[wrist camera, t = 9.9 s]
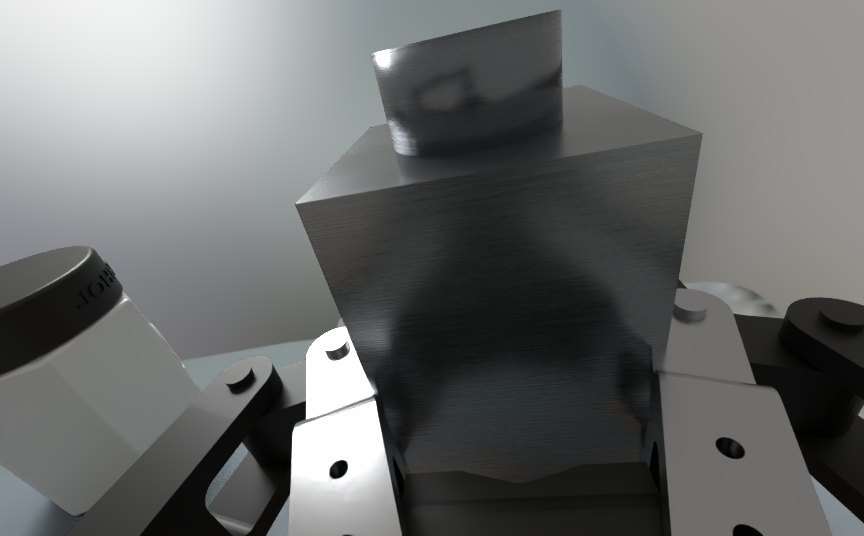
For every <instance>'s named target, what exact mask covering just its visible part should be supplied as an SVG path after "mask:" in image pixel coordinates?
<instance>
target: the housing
mask: <svg viewBox="0 0 864 536" xmlns="http://www.w3.org/2000/svg"><path fill="white" fill-rule="evenodd" d="M561 33H562V31H561V10H555V11H551V12H546V13H542V14H538V15H533V16H528V17H524V18H520V19H515V20H511V21H507V22H502V23H498V24H494V25H490V26H485V27H481V28H476V29H472V30H468V31H463V32H459V33H455V34H451V35H447V36H442V37H438V38H434V39H430V40H425V41H421V42H417V43H412V44H408V45H404V46H400V47H396V48H392V49H388V50H383V51H379V52H375V53H372V54H371V57H372V61H373V65H374V69H375V74H376V78H377V82H378V86H379V90H380V94H381V98H382V102H383V106H384V110H385V114H386V118H387V122H388V124H384V125H379V126H374V127H370V129H368V130H367V131H366V132H365V133H364V134H363V136H362V137H361V138H360V139H359V140H358V141H357V142H356V143H355V144H354V145H353V146H352V147H351V148H350V149H349V150H348V151H347V152H346V153H345V154H344V155H343V156H342V157H341V158H340V159H339V160H338V161H337V162H336V163H335V164H334V165H333V166H332V167H331V168H330V169H329V170H328V171H327V172H326V173H325V174H324V175H323V176H322V177H321V178H320V179H319V180H318V181H317V182H316V183H315V184H314V185H313V186H312V188H310V189H309V190H308V192H307V193H305V194H304V196H302V198H301V199H300V200H299V201H298V202H297V203H296V204H295V206H296V208H297V210H298V212H299V215H300V218H301V220H302V223H303V225H304V228H305V230H306V232H307V235H308V237H309V239H310V242H311V245H312V247H313V249H314V252H315V254H316V257H317V259H318V262H319V264H320V267H321V269H322V271H323V274H324V276H325V279H326V281H327V283H328V286H329V289H330V291H331V293H332V296H333V298H334V301H335V303H336V305H337V308H338V310H339V313H340V315H341V318H342V320H343V323H344V325H345V328H346V330H347V332H348V335H349V337H350V340H351V342H352V345H353V347H354V349H355V352H356V354H357V357H358V359H359V362H360V364H361V367H362V369H363V371H364V374H369V373H374V375H375V378H376V381H377V383H378V386H379V388H380V391H381V396H382V400H383V405H384V409H385V413H386V417H387V420H388V424H389V427H390V430H391V432H392V435H393V437H394V440H400V442H401V444H402V447H403V449H404V452H405V455H406V459H407V463H408V467H409V471H410V473H429V472H448V471H463V472H468V473H472V474H477V475H482V476H486V477H491V478H496V479H500V480H505V481H510V482H514V483H527V482H530V481H534V480H537V479H540V478H543V477H546V476H549V475H552V474H555V473H558V472H561V471H564V470H567V469H570V468H574V467H577V466H580V465H586V464H605V463H625V462H639V435H640V428H641V425H643V424H648V418H649V409H650V377H649V363H650V356H651V349H652V347H657V346H667V344H668V338H669V332H670V326H671V320H672V314H673V308H674V302H675V296H676V290H677V284H678V278H679V272H680V266H681V260H682V254H683V248H684V242H685V236H686V231H687V224H688V219H689V213H690V207H691V201H692V195H693V188H694V183H695V177H696V171H697V165H698V158H699V153H700V147H701V140H702V135H703V134H702V133H700V132H698V131H695V130H693V129H690V128H688V127H685V126H683V125H680V124H678V123H675V122H672V121H670V120H668V119H665V118H663V117H660V116H658V115H655V114H653V113H650V112H647V111H645V110H643V109H640V108H638V107H635V106H633V105H630V104H628V103H625V102H622V101H620V100H618V99H615V98H613V97H610V96H607V95H605V94H603V93H600V92H598V91H595V90H592V89H590V88H588V87H585V86H583V85H578V86H573V87H569V88H563V89H562V37H561V36H562V34H561Z"/></svg>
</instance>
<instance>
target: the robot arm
mask: <svg viewBox="0 0 864 536" xmlns="http://www.w3.org/2000/svg"><path fill="white" fill-rule="evenodd" d="M649 377H650V409H649V418H648V424H643V425H641V428H640V435H639V462H625V463H605V464H586V465H580V466H577V467H574V468H570V469H567V470H564V471H561V472H558V473H555V474H552V475H549V476H546V477H543V478H540V479H537V480H534V481H530V482H527V483H514V482H510V481H505V480H500V479H496V478H491V477H486V476H482V475H477V474H472V473H468V472H463V471H448V472H429V473H410V471H409V467H408V463H407V459H406V455H405V452H404V449H403V447H402V444H401V442H400V440H394V437H393V435H392V432H391V430H390V427H389V424H388V420H387V417H386V413H385V409H384V405H383V400H382V396H381V391H380V388H379V386H378V383H377V381H376V378H375V375H374V373H369V374H364V371H363V369H362V367H361V364H360V362H359V359H358V357H357V354H356V352H355V349H354V347H353V345H352V342H351V340H350V337H349V335H348V332H347V330H346V328H345V325H344V323H343V320H342V318H340V321H339V323H338V325H337V328H336V329H334V330H332V331H330V332H328V333H326V334H324V335H322V336H321V337H320V338H318V339H317V340H316V341H315V342H314V343H313V344H312V346H311V347H310V349H309V351H308V353H307V359H304V360H302V361H299V362H296V363H293V364H290V365H287V366H285V367H282V368H279V369H275V368H274V366H273V364H272V362H271V361H270V360H269V359H268V358H266V357H262V356H255V357H249V358H246V359H243V360H241V361H238V362H236V363H235V364H233V365H231V366H230V367H228V368H227V369H225V370H224V371H223V372H222V373H221V374H220V375H219V376H218V377H217V378H216V379H215V380H214V381H213V382H212V383H211V384H210V385H209V386H208V387H207V388H206V389H205V390H204V391H203V392H202V393H201V394H200V395H199V396H198V397H197V398H196V399H195V400H194V401H193V402H192V403H191V405H190V406H189V407H188V408H187V409H186V410H185V411H184V412H183V413H182V414H181V415H180V416H179V417H178V418H177V419H176V420H175V421H174V422H173V423H172V424H171V425H170V426H169V427H168V428H167V429H166V430H165V431H164V433H163V434H162V435H161V436H160V437H159V438H158V439H157V440H156V441H155V442H154V443H153V444H152V445H151V446H150V447H149V448H148V449H147V450H146V451H145V452H144V453H143V454H142V455H141V456H140V457H139V458H138V460H137V461H136V462H135V463H134V464H133V465H132V466H131V467H130V468H129V469H128V470H127V471H126V472H125V473H124V474H123V475H122V476H121V477H120V478H119V479H118V480H117V481H116V482H115V483H114V484H113V485H112V486H111V488H110V489H109V490H108V491H107V492H106V493H105V494H104V495H103V496H102V497H101V498H100V499H99V500H98V501H97V502H96V503H95V504H94V505H93V506H92V507H91V508H90V509H89V510H88V511H87V512H86V513H85V514H84V516H83V517H82V518H81V519H80V520H79V521H78V522H77V523H76V524H75V525H74V526H73V527H72V528H71V529H70V530H69V531H68V532H67V533H66V534H65V535H64V536H266V535H267V533H268V531H269V529H270V528H271V526H272V524H273V523H274V521H275V519H276V517H277V516H278V514H279V512H280V510H281V509H282V507H283V505H284V504H285V502H286V500H287V498H288V497H289V495H290V510H289V532H288V536H832V533H831V530H830V528H829V525H828V522H827V520H826V517H825V514H824V512H823V509H822V506H821V504H820V501H819V498H818V496H817V493H816V490H815V488H814V485H813V482H812V480H811V477H810V475H812V476H813V477H814V478H815V479H816V480H817V481H818V482H819V483H820V484H821V485H822V486H824V487H825V488H826V489H827V490H828V491H829V492H830V493H831V494H832V495H833V496H834V497H836V498H837V499H838V500H839V501H840V502H841V503H842V504H843V505H844V506H845V507H846V508H848V509H849V510H850V511H851V512H852V513H853V514H854V515H855V516H856V517H857V518H859V519H860V520H861V521H862V522H863V523H864V419H862V418H861V417H859V416H858V414H859V412H860V411H861V409H862V407H863V406H864V306H863V305H860V304H857V303H853V302H849V301H844V300H839V299H832V298H805V299H801V300H798V301H795V302H793V303H792V304H791V305H790V306H789V307H788V309H787V312H786V315H785V317H784V319H781V318H769V317H758V316H746V315H738V314H733V312H732V310H731V308H730V307H729V306H728V305H727V304H726V303H725V302H724V301H722V300H721V299H719V298H718V297H716V296H714V295H711V294H709V293H706V292H702V291H698V290H693V289H687V288H686V287H685V286H684V284H683V283H682V282H681V281H680V280H679V279H678V284H677V290H676V296H675V302H674V308H673V314H672V320H671V326H670V332H669V338H668V344H667V346H657V347H652V349H651V356H650V363H649ZM241 442H242V443H243V444H244V445H245V447H246V448H247V449H248V451H249V452H248V454H247V455H246V456H245V458H244V459H243V461H242V462H241V463H240V465H239V466H238V467H237V469H236V470H235V471H234V473H233V474H232V476H231V477H230V478H229V480H228V481H227V482H226V484H225V485H224V487H223V488H222V489H221V491H220V492H219V493H218V495H217V496H216V498H215V499H214V500H213V502H212V503H211V504H210V506H209V507H208V509H207V508H206V506H205V497H206V493H207V490H208V487H209V485H210V484H211V482H212V481H213V479H214V478H215V476H216V475H217V474H218V473H219V471H220V470H221V469H222V467H223V466H224V465H225V463H226V462H227V461H228V459H229V458H230V457H231V455H232V454H233V453H234V452H235V450H236V449H237V448H238V446H239V445H240V444H241Z"/></svg>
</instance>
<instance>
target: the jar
mask: <svg viewBox="0 0 864 536" xmlns="http://www.w3.org/2000/svg"><path fill="white" fill-rule="evenodd" d="M114 275H115V273H114V272H113V270H112V269H111V268H110V267H109V265H108V264H107V263H106V261H105V260H104V261H103V260H102V259H101V257H100V256H99V255H98V254H97V252H96V251H95V250H94V249H93V248H90V247H87V246H72V247H66V248H61V249H56V250H51V251H48V252H44V253H40V254H37V255H33V256H30V257H27V258H24V259H21V260H18V261H15V262H12V263H9V264H6V265H4V266H1V267H0V464H1V465H2V466H3V467H5V468H6V469H8V470H9V471H10V472H12V473H13V474H14V475H16V476H17V477H19V478H20V479H21V480H23V481H24V482H26V483H27V484H28V485H30V486H31V487H33V488H34V489H35V490H37V491H38V492H40V493H41V494H42V495H44V496H45V497H47V498H48V499H49V500H51V501H52V502H53V503H55V504H56V505H58V506H59V507H60V508H62V509H63V510H65V511H66V512H67V513H69V514H70V515H72V516H77V515H80V514H82V513H85V512H87V511H88V510H89V509H90V508H91V507H92V506H93V505H94V504H95V503H96V502H97V501H98V500H99V499H100V498H101V497H102V496H103V495H104V494H105V493H106V492H107V491H108V490H109V489H110V488H111V486H112V485H113V484H114V483H115V482H116V481H117V480H118V479H119V478H120V477H121V476H122V475H123V474H124V473H125V472H126V471H127V470H128V469H129V468H130V467H131V466H132V465H133V464H134V463H135V462H136V461H137V460H138V458H139V457H140V456H141V455H142V454H143V453H144V452H145V451H146V450H147V449H148V448H149V447H150V446H151V445H152V444H153V443H154V442H155V441H156V440H157V439H158V438H159V437H160V436H161V435H162V434H163V433H164V431H165V430H166V429H167V428H168V427H169V426H170V425H171V424H172V423H173V422H174V421H175V420H176V419H177V418H178V417H179V416H180V415H181V414H182V413H183V412H184V411H185V410H186V409H187V408H188V407H189V406H190V405H191V403H192V402H193V401H194V400H195V399H196V398H197V397H198V396H199V395H200V394H201V393H202V391H201V390H200V389H199V387H198V386H197V385H196V383H195V382H194V381H193V379H192V378H191V377H190V376H189V374H188V373H187V372H186V367H185V366H184V365H183V363H182V362H181V360H180V359H179V358H178V356H177V355H176V354H175V353H174V351H173V350H172V349H171V347H170V345H169V344H168V343H167V341H166V340H165V339H164V338H163V336H162V335H161V334H160V333H159V331H158V330H157V329H156V328H155V326H154V325H153V324H152V323H149V322H148V321H147V320H146V318H145V317H144V316H143V315H142V313H141V312H140V311H139V309H138V308H137V307H136V305H135V304H134V303H133V301H132V300H131V299H130V298H129V297H128V296H127V295H126V294H125V293H124V291H123V290H122V289H123V288H122V285H121V284H120V282H119V281H118V280H117V278H116V277H115V276H114Z"/></svg>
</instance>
